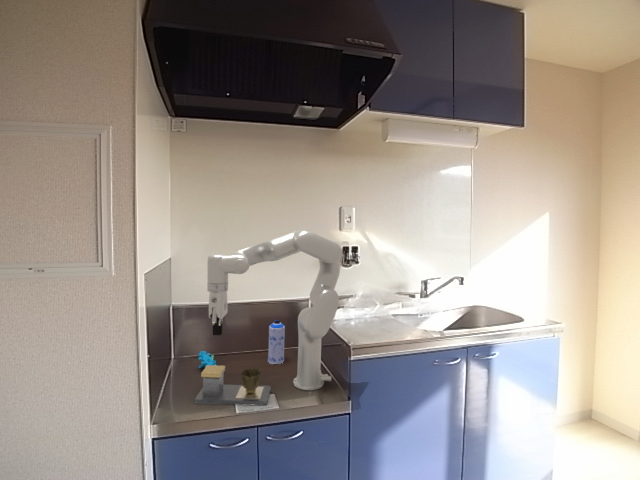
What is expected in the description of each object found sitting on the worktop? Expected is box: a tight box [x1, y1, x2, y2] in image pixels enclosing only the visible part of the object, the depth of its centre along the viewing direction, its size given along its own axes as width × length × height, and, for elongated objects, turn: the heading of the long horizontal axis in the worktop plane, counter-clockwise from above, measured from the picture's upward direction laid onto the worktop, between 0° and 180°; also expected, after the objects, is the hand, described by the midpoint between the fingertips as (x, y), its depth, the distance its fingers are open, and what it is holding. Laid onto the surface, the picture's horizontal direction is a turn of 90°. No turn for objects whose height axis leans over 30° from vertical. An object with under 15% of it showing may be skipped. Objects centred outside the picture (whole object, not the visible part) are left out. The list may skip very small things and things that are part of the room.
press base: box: [193, 371, 271, 406], centre depth 132 cm, size 26×12×8 cm, turn 91°
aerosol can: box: [267, 318, 286, 365], centre depth 166 cm, size 8×8×20 cm
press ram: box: [200, 364, 226, 378], centre depth 132 cm, size 7×7×8 cm
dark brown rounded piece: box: [240, 367, 262, 394], centre depth 133 cm, size 8×7×8 cm
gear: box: [197, 350, 218, 369], centre depth 157 cm, size 11×6×10 cm
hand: (217, 334), depth 133 cm, fingers closed
